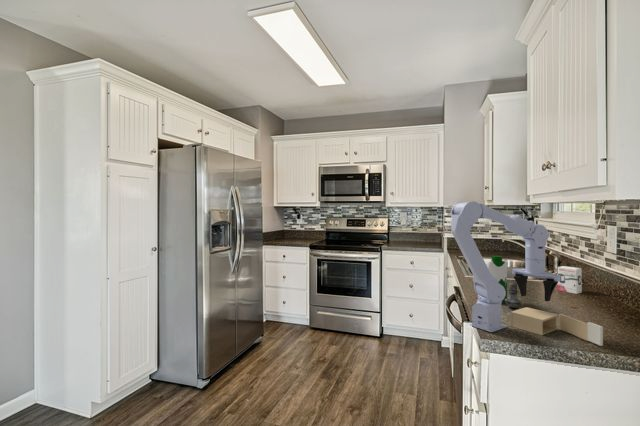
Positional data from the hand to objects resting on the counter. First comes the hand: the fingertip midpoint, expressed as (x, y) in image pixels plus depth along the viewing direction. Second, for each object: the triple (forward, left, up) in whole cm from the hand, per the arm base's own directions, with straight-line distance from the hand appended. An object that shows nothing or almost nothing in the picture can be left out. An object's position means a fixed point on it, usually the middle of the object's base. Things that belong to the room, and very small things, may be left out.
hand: (535, 298), depth 113 cm
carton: (-3, -1, -9) cm, 10 cm away
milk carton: (+18, +25, -10) cm, 32 cm away
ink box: (+64, +15, -10) cm, 66 cm away
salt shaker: (+12, +14, -10) cm, 21 cm away
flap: (0, -13, -9) cm, 16 cm away
